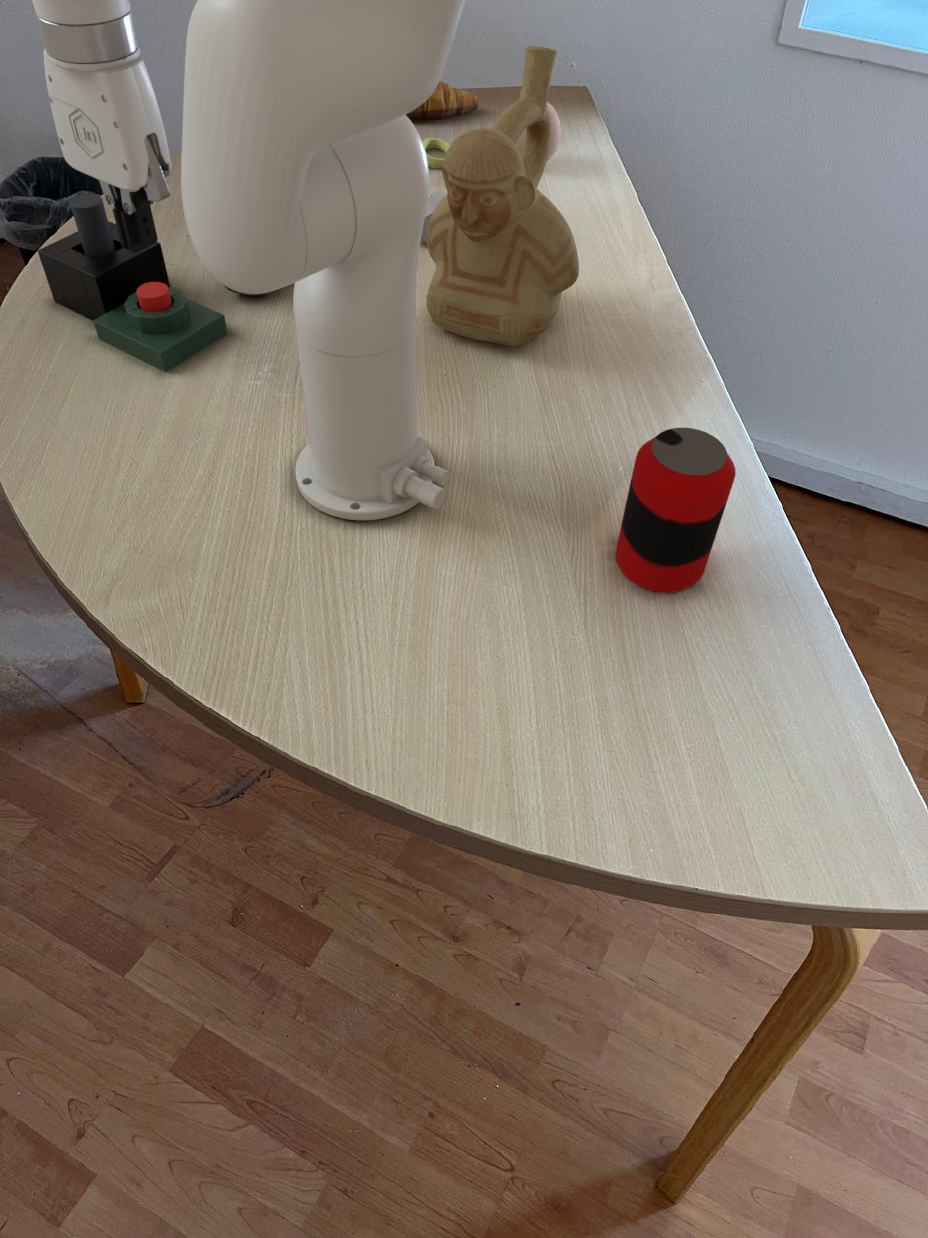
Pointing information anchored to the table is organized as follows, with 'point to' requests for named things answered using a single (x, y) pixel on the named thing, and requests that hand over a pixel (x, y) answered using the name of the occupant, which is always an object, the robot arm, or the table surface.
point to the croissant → (445, 104)
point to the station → (161, 330)
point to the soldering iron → (92, 225)
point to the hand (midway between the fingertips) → (140, 244)
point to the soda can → (674, 509)
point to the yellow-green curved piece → (435, 144)
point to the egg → (554, 134)
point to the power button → (154, 297)
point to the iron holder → (99, 274)
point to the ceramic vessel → (501, 225)
